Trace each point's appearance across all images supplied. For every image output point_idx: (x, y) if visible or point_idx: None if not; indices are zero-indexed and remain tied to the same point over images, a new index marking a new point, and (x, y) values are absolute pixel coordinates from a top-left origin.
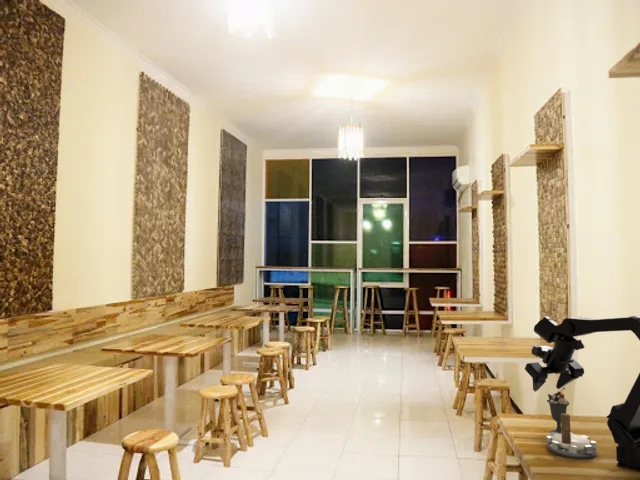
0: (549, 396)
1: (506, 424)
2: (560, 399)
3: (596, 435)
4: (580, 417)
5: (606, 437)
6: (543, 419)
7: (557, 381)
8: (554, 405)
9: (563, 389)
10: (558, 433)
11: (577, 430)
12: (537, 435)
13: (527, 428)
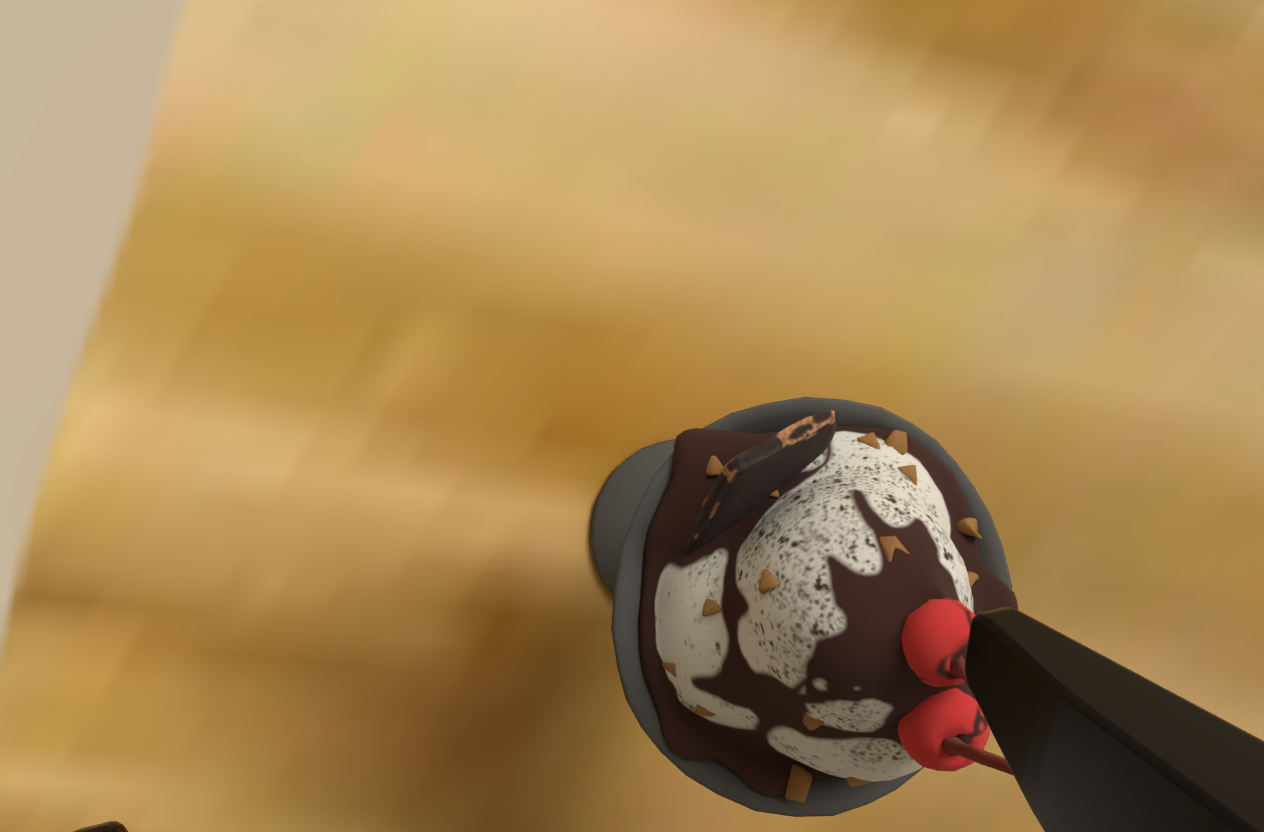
0: (729, 503)
1: (176, 106)
2: (835, 750)
3: None
4: (1239, 55)
5: None
6: (780, 25)
7: (1111, 733)
8: (662, 723)
9: None
10: None
11: None
12: (368, 575)
13: (383, 310)
